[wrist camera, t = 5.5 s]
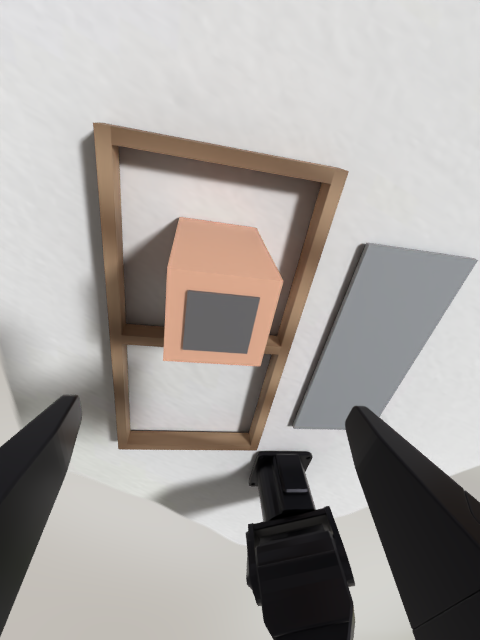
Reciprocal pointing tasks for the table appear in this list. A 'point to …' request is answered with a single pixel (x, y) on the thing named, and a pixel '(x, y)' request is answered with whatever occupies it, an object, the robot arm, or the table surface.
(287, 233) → the table surface
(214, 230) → the peach block
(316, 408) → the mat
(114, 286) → the organizer
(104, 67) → the table surface
